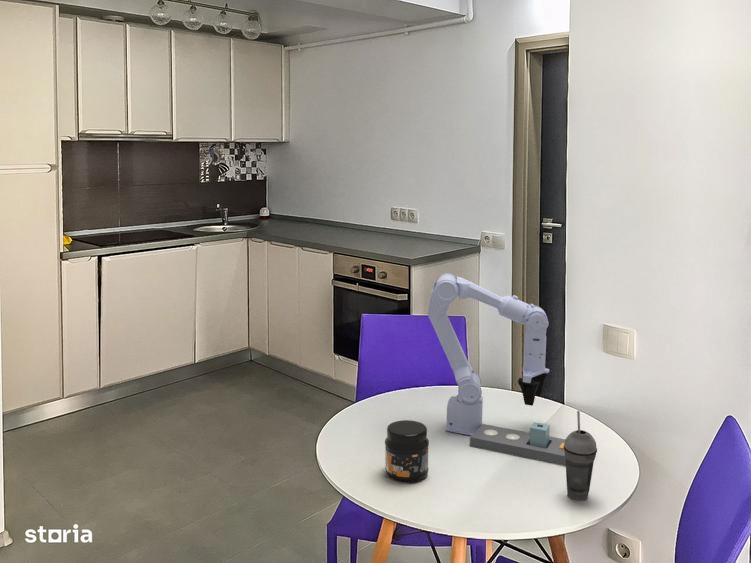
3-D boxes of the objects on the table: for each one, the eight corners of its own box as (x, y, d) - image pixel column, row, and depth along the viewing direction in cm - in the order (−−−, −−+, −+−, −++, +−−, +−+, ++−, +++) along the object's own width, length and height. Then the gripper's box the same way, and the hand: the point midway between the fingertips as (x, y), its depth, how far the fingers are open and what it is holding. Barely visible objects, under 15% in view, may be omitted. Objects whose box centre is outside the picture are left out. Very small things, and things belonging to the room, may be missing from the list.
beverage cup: (576, 507, 157) (581, 421, 153) (554, 492, 163) (558, 410, 159) (601, 499, 160) (606, 415, 156) (578, 485, 167) (582, 404, 163)
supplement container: (376, 475, 172) (375, 428, 170) (402, 460, 180) (402, 415, 178) (411, 489, 165) (411, 440, 163) (437, 472, 173) (437, 426, 171)
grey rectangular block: (529, 453, 184) (530, 426, 182) (533, 447, 187) (534, 421, 186) (544, 456, 182) (545, 429, 181) (548, 450, 186) (549, 423, 184)
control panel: (469, 446, 188) (470, 435, 188) (482, 432, 197) (482, 422, 196) (569, 466, 176) (570, 455, 176) (578, 450, 185) (578, 440, 184)
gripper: (542, 361, 184) (540, 411, 187) (556, 347, 196) (554, 394, 199) (515, 357, 187) (513, 407, 190) (531, 343, 200) (529, 390, 202)
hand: (532, 400), depth 195 cm, fingers open, 7 cm apart
